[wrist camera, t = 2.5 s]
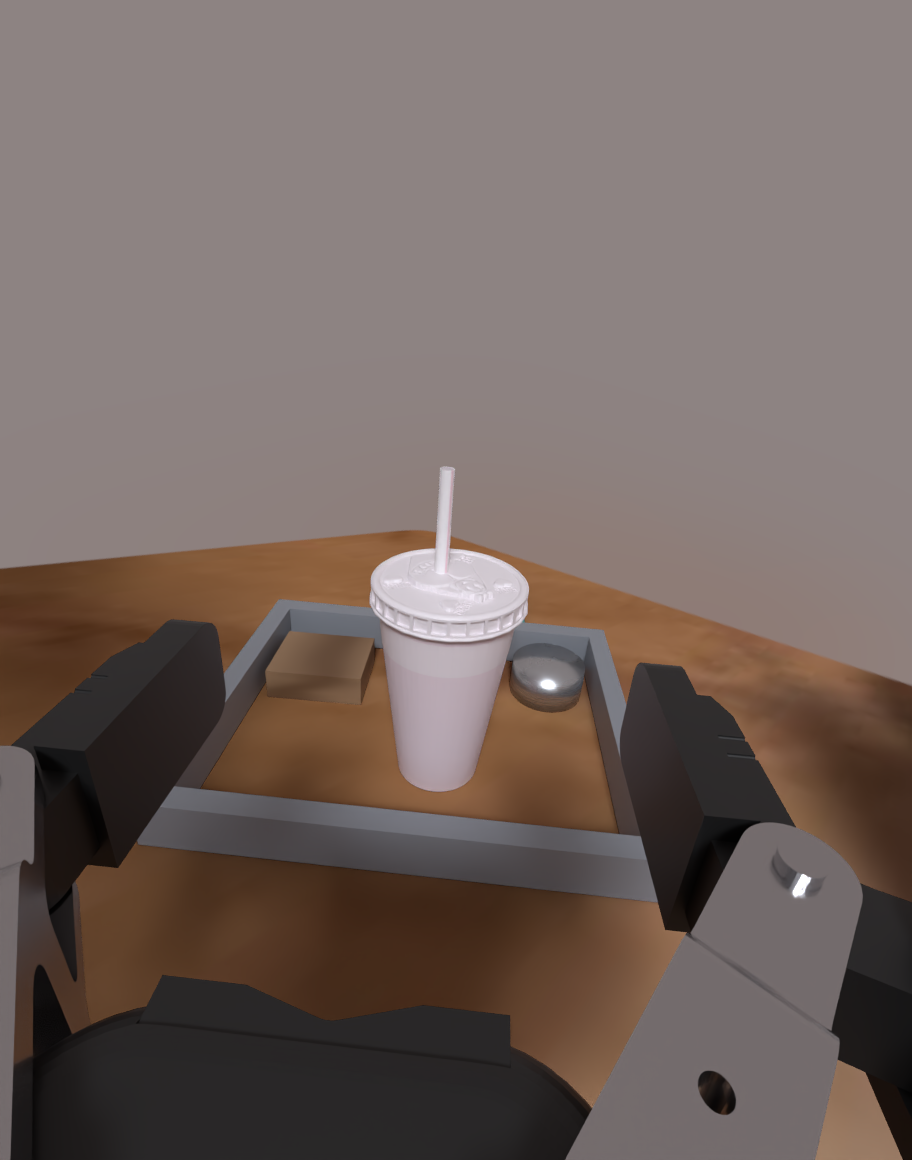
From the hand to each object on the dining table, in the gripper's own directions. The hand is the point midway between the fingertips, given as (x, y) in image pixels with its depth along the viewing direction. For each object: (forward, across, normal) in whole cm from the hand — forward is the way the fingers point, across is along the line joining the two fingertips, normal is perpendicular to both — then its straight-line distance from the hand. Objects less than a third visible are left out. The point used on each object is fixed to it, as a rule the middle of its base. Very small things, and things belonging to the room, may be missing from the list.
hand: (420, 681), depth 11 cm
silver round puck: (+18, -5, +13) cm, 23 cm away
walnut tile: (+17, +7, +13) cm, 23 cm away
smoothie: (+12, 0, +13) cm, 18 cm away
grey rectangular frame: (+14, +1, +13) cm, 19 cm away
